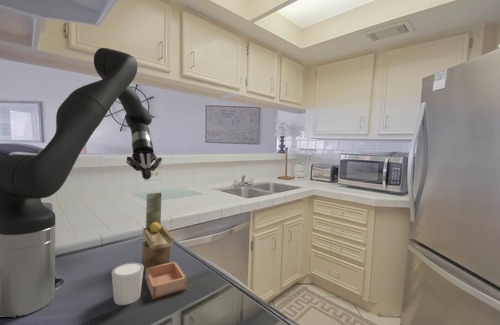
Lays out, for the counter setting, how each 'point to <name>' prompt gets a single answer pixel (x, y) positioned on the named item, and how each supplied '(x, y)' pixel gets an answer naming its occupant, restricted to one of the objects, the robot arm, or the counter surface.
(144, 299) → the counter surface
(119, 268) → the white cylinder
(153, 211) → the ramp
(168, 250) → the fulcrum
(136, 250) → the counter surface
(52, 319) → the counter surface
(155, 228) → the ball
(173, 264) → the dish
